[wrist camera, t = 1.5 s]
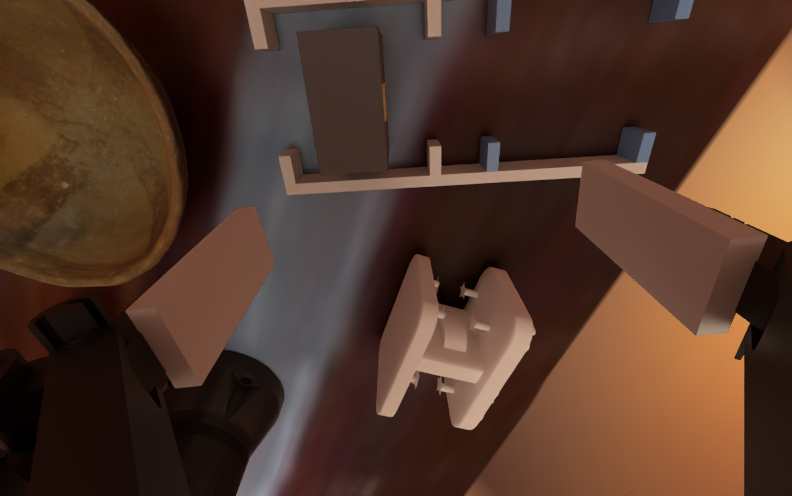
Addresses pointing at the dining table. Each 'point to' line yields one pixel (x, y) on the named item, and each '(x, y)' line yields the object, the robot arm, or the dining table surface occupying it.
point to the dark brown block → (346, 98)
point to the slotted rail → (632, 152)
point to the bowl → (83, 149)
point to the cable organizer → (453, 342)
